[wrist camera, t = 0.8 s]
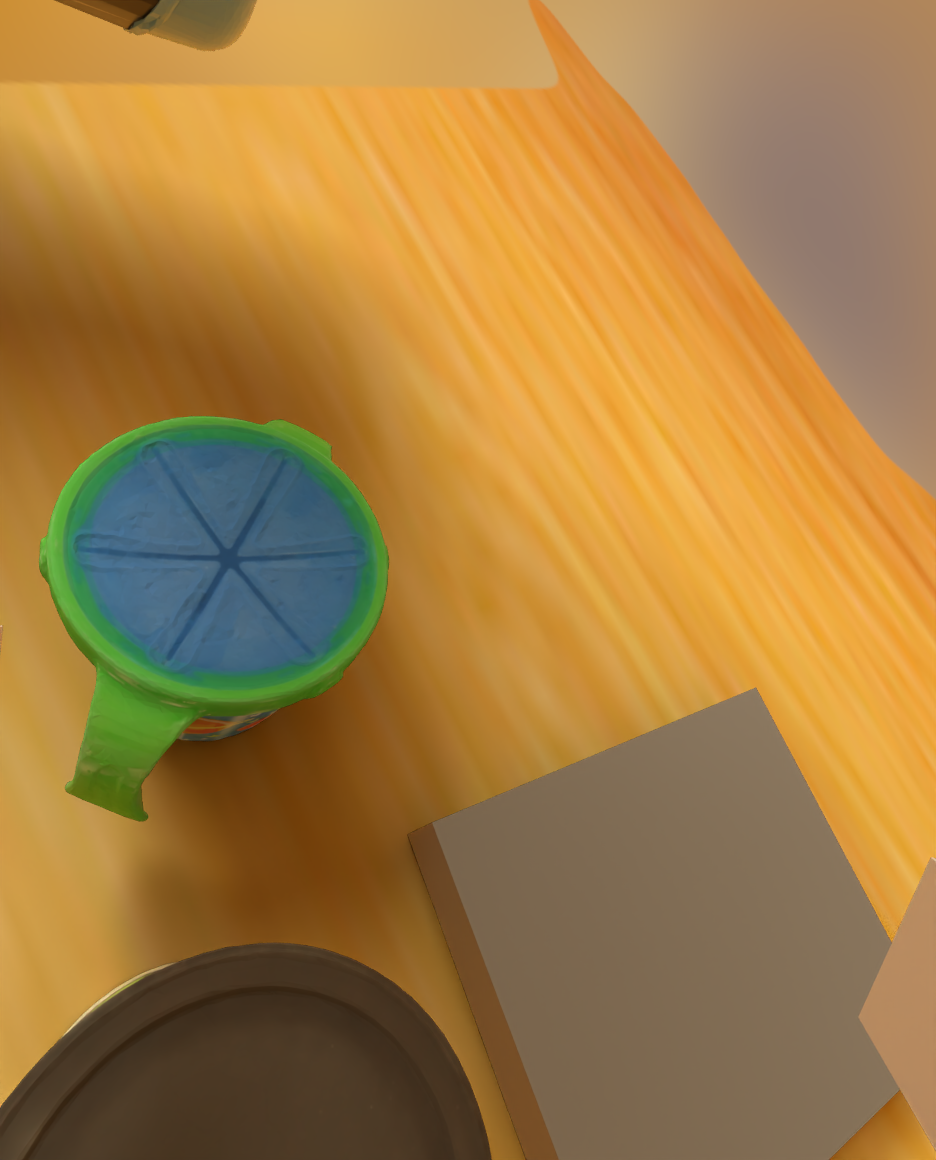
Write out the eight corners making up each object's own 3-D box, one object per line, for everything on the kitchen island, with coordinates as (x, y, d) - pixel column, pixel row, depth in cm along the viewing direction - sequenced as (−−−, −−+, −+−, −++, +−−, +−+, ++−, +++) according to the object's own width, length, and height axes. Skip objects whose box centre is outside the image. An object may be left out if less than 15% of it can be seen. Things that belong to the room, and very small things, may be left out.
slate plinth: (407, 834, 32) (432, 822, 30) (718, 704, 43) (756, 687, 40) (584, 1320, 27) (632, 1353, 25) (891, 1040, 37) (945, 1044, 35)
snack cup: (196, 472, 36) (223, 321, 28) (384, 587, 37) (464, 475, 29) (-54, 754, 27) (-124, 655, 19) (205, 892, 28) (246, 856, 20)
